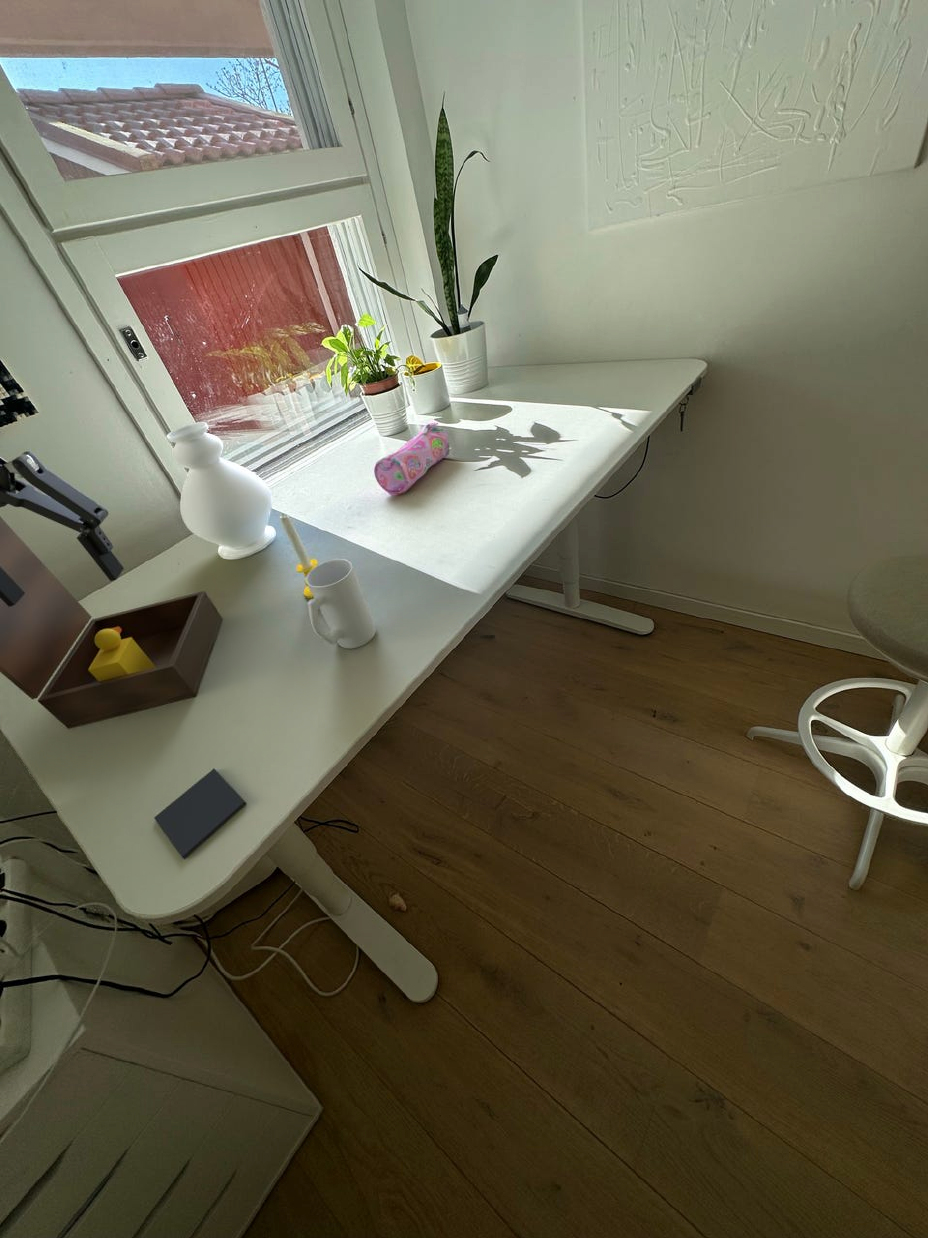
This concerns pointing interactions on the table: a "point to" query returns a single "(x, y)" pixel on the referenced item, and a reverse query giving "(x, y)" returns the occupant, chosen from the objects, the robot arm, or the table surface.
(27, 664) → the lid
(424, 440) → the pencil case
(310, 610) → the mug
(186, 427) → the decorative vase
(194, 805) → the coaster
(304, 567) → the candle
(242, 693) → the table surface
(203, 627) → the chest
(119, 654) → the duck
